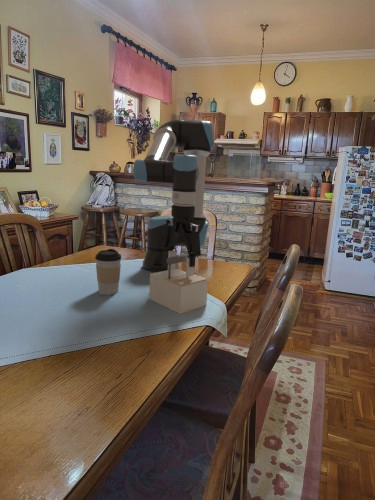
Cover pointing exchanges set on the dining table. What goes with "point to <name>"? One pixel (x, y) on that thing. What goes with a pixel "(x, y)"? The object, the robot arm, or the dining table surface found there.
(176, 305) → the carton
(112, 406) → the dining table surface
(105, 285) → the coffee cup
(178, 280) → the drawer with bar handle
